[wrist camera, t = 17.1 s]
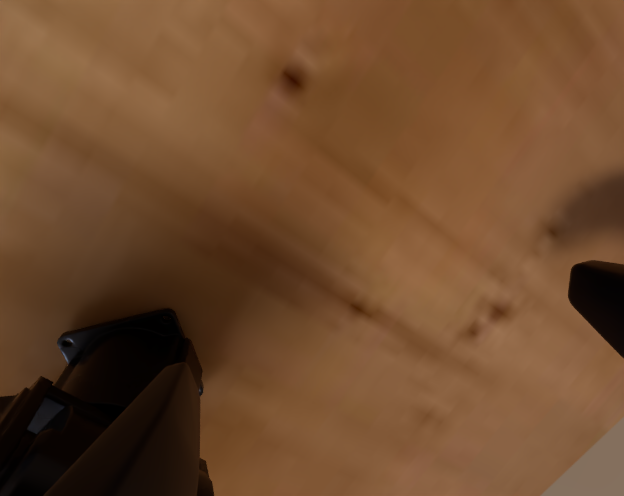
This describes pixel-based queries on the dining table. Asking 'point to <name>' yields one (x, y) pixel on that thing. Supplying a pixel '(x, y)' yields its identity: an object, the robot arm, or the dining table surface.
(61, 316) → the dining table surface
